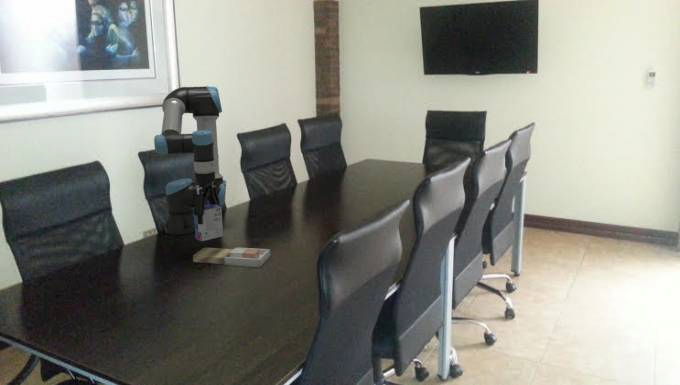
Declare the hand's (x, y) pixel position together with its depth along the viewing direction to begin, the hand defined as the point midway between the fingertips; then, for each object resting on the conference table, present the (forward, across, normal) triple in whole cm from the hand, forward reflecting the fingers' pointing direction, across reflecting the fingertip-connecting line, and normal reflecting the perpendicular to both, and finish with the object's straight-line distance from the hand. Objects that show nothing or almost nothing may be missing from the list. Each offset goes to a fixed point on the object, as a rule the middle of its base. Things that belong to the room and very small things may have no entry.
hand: (208, 227), depth 216 cm
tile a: (+12, 0, -12) cm, 16 cm away
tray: (+13, 0, -15) cm, 20 cm away
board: (+13, 0, -1) cm, 13 cm away
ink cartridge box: (+4, 0, 0) cm, 4 cm away
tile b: (+12, 0, -17) cm, 20 cm away
